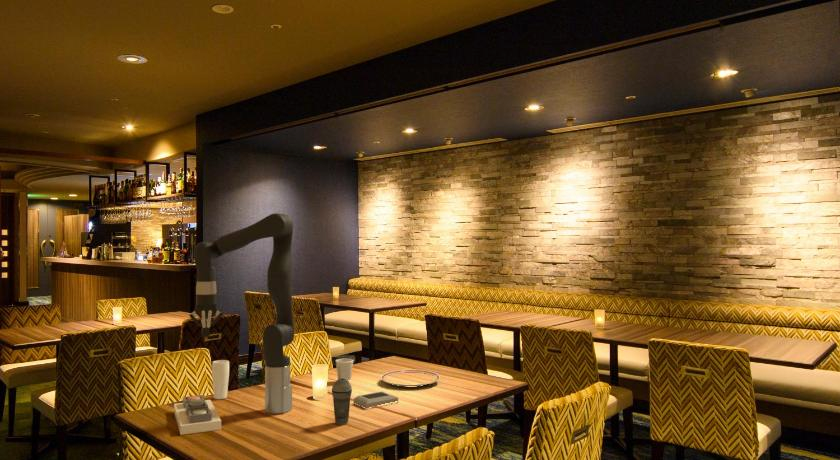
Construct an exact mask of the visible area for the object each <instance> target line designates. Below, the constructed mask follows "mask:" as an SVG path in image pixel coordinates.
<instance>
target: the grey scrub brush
mask: <svg viewBox="0 0 840 460" xmlns="http://www.w3.org/2000/svg"><path fill="white" fill-rule="evenodd" d="M395 401H398V402H399V397H398V396H395V395H392V394H390V393H387V392H385V391H378V392H371V393H366V394H361V395H357V396H355V397H354V398H353V404H354V403H356V404H358V405H360V406H363V407H365V408H369V407H372V406H377V405H381V404H385V403H390V402H395Z"/></svg>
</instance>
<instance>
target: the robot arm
mask: <svg viewBox="0 0 840 460" xmlns="http://www.w3.org/2000/svg"><path fill="white" fill-rule="evenodd" d="M293 233H294V224H293V220H292V219H291V217H290V216H288V214H284V213H276V212H275V213H271V214H269V215H267V216H265V217H264V218H261V219H260V220H259V221H256V222H255V223H253V224H251V225H248V226H246V227H243V228H240V229H238V230H236V231H233V232H229V233H227V234H224V235H221V236H219V237H217V239H216V240H212V241H209V242H208V241H201V242H199V243H196V245H194V246H195V247H194V248H193V259H194V264H195V268H196V286H195V307H194V311H192V312H191V313H189V314H188V316H189V317H190V319H191V320H192V322H194V323H195V324H196V326H197V327H200V328H201V335H202V337H203V338H209V336H211V327H213V326H215V325H216V324H217V323H218V322H219V320H221V318H222V316H223V315H224V314H223V312H221V311H219V309H218V306H217V292H218V291H217V272H216V271H217V270H216V267H215V266H212V260H215V259H218V258H220V257H223V256H225V255H226V254H228V253H232V252H234V251H237V250H240V249H242V248H245V247H246V246H248V245H249V244H251V243H254V242H255V241H258V240H262V239H267V238H272V241H273V242H272V243H273V249H272V254H271V258H270V262H269V264H268V267H267V273H266V274H267V275H266V276H267V277H266V278H267V281H266V282H267V283H266V287H267V292H268V294H269V296H270V298H271V300H272V303H273V305H274V309H275V312H276V313H275V314H276V315H275V316H276V317H275V318H276V322H275V323H272V324H271V323H270V324H269V325H267V326H265V328H264V329H263V333H262V353H263V355H262V356H263V360H264V362H265V369H264V370H265V371H264V373H265V375H264V379H265V380H264V384H265V385H264V386H265V387H264V412H265V413H267V414H276V415H277V414H285V413H288V412H289V411H291V410H293V384H292V383H291V359H290V357H289V355H285V354H284V347H286V346H289V345H290V344H291V343H292V342H293V341H294V338H295V325H294V315H293V294H292V293H293V291H292V289H293V286H292V285H293V275H292V271H293V270H292V245H293V244H292V241H293ZM197 316H198V318H199V319H200V321H201V322H199V321H198V319H197V318H196V317H197ZM214 316H215V318H213V317H214Z"/></svg>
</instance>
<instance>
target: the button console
mask: <svg viewBox="0 0 840 460" xmlns="http://www.w3.org/2000/svg"><path fill="white" fill-rule="evenodd" d="M192 396H193V395H190V396H183V397H182V402H178V403H173V413H174V416H175V421H176V425H177V426H178V431H179V435H180V436H182V435H191V434H198V433H199V434H200V433H207V432H213V431H221V430H222V419H221V418H220V416H219V414H218V412H217V410H216V407H215V405H214V404H213V402H212V400H211V399H206V398H205V396H204V394H200V395H197V396H199V397H200V399H203V406H199V407H191V408H190V401H191V400H190V401H187V398H188V397H192ZM196 410H207V413H205V414H197V415H193V411H196Z"/></svg>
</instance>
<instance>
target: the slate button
mask: <svg viewBox="0 0 840 460" xmlns="http://www.w3.org/2000/svg"><path fill="white" fill-rule="evenodd" d="M199 406H203V399H194V400H191V401H190V408H191V407H199Z"/></svg>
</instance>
